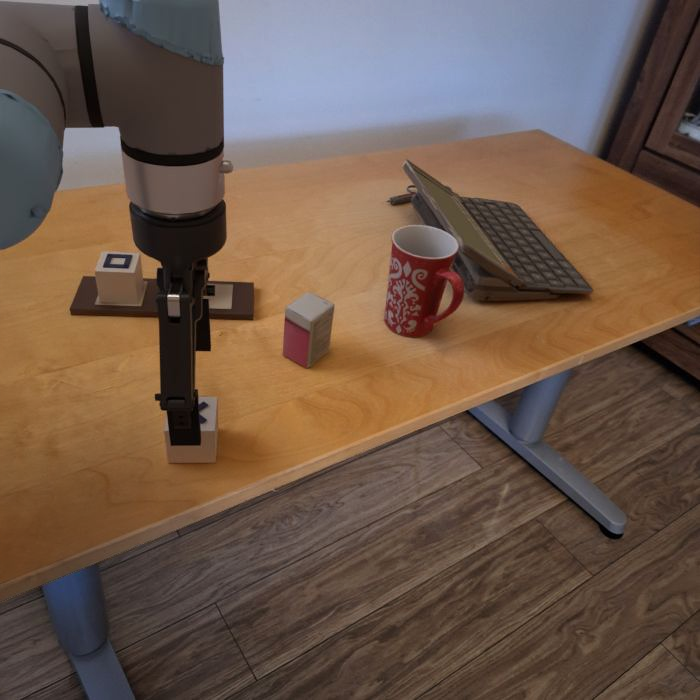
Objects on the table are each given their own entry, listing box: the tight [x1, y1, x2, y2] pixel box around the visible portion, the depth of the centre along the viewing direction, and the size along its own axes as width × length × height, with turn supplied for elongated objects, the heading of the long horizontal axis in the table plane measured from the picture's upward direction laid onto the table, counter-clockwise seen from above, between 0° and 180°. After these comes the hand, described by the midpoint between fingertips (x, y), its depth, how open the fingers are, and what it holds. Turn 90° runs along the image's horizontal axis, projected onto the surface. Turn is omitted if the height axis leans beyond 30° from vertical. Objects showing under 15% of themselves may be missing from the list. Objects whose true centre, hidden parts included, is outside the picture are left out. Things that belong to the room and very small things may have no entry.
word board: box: [69, 275, 255, 321], centre depth 87 cm, size 24×8×1 cm, turn 96°
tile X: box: [163, 396, 220, 464], centre depth 66 cm, size 5×5×5 cm
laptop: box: [401, 159, 594, 302], centre depth 106 cm, size 26×32×10 cm
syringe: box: [381, 184, 453, 205], centre depth 121 cm, size 8×18×2 cm, turn 124°
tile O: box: [93, 250, 144, 304], centre depth 84 cm, size 5×5×5 cm
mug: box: [383, 224, 465, 338], centre depth 84 cm, size 13×9×14 cm
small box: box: [282, 291, 336, 369], centre depth 79 cm, size 5×4×8 cm
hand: (192, 392), depth 63 cm, fingers open, 13 cm apart
